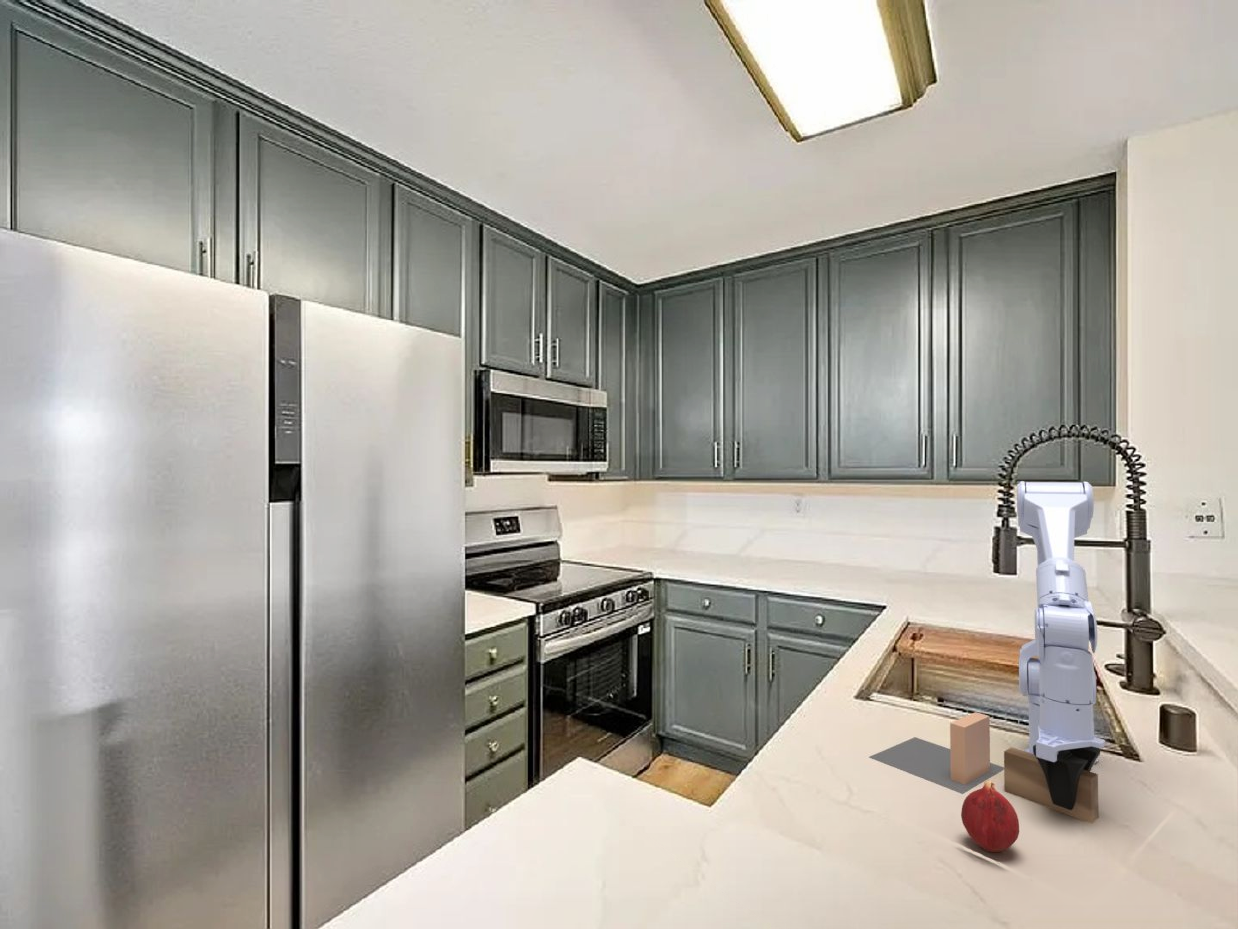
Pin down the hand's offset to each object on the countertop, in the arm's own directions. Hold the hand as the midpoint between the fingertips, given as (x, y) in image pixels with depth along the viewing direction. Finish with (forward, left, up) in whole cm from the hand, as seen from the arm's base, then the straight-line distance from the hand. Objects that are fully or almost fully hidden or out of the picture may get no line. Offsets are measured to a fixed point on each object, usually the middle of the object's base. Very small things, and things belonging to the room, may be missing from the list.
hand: (1067, 803), depth 80 cm
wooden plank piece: (0, -2, -2) cm, 2 cm away
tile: (0, -12, -1) cm, 12 cm away
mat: (0, -17, -1) cm, 17 cm away
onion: (+18, -2, -2) cm, 18 cm away
